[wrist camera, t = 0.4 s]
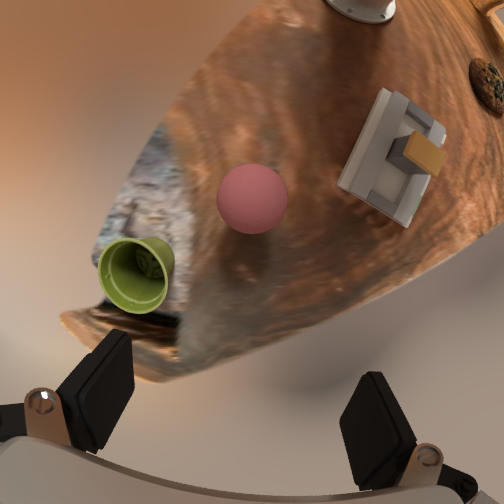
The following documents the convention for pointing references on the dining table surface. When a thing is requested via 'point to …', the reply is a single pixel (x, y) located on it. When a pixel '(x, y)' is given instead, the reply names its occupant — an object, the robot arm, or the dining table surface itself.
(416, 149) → the breaker handle
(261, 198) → the light bulb
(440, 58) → the dining table surface
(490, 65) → the bread roll
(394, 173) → the switch panel
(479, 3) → the beer glass
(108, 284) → the plant pot
